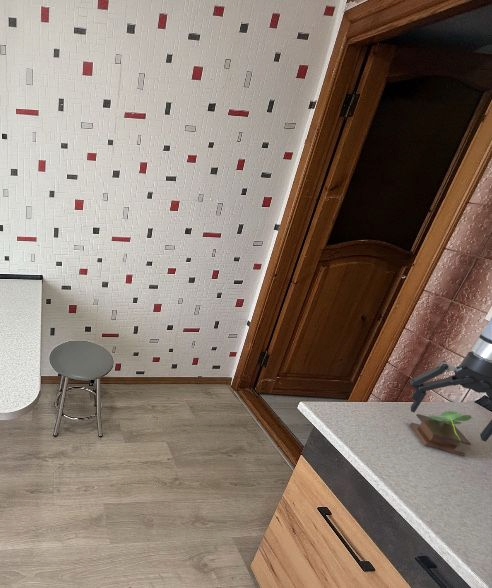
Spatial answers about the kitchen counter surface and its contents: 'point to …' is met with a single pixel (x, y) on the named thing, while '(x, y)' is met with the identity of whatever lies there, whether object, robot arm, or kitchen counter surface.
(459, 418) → the seedling
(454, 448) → the plant stand
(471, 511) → the kitchen counter surface
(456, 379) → the robot arm
